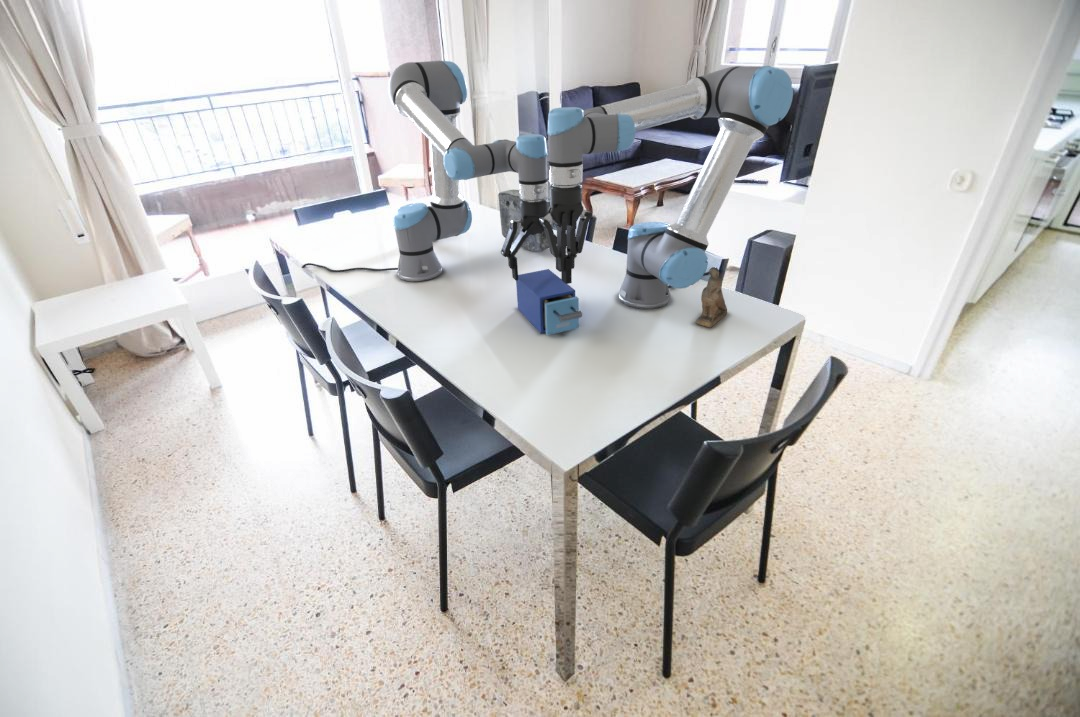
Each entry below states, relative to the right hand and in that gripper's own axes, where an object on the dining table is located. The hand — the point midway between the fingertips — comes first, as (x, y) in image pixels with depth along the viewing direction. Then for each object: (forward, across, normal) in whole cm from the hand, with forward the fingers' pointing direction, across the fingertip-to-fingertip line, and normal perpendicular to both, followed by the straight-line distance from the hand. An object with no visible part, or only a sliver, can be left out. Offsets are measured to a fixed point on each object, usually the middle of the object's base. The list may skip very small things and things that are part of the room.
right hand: (566, 281), depth 124 cm
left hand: (+5, 0, +19) cm, 20 cm away
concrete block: (+16, +19, +72) cm, 77 cm away
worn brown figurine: (+16, +41, -8) cm, 45 cm away
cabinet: (+16, 0, +14) cm, 22 cm away
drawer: (+15, 0, +8) cm, 17 cm away
